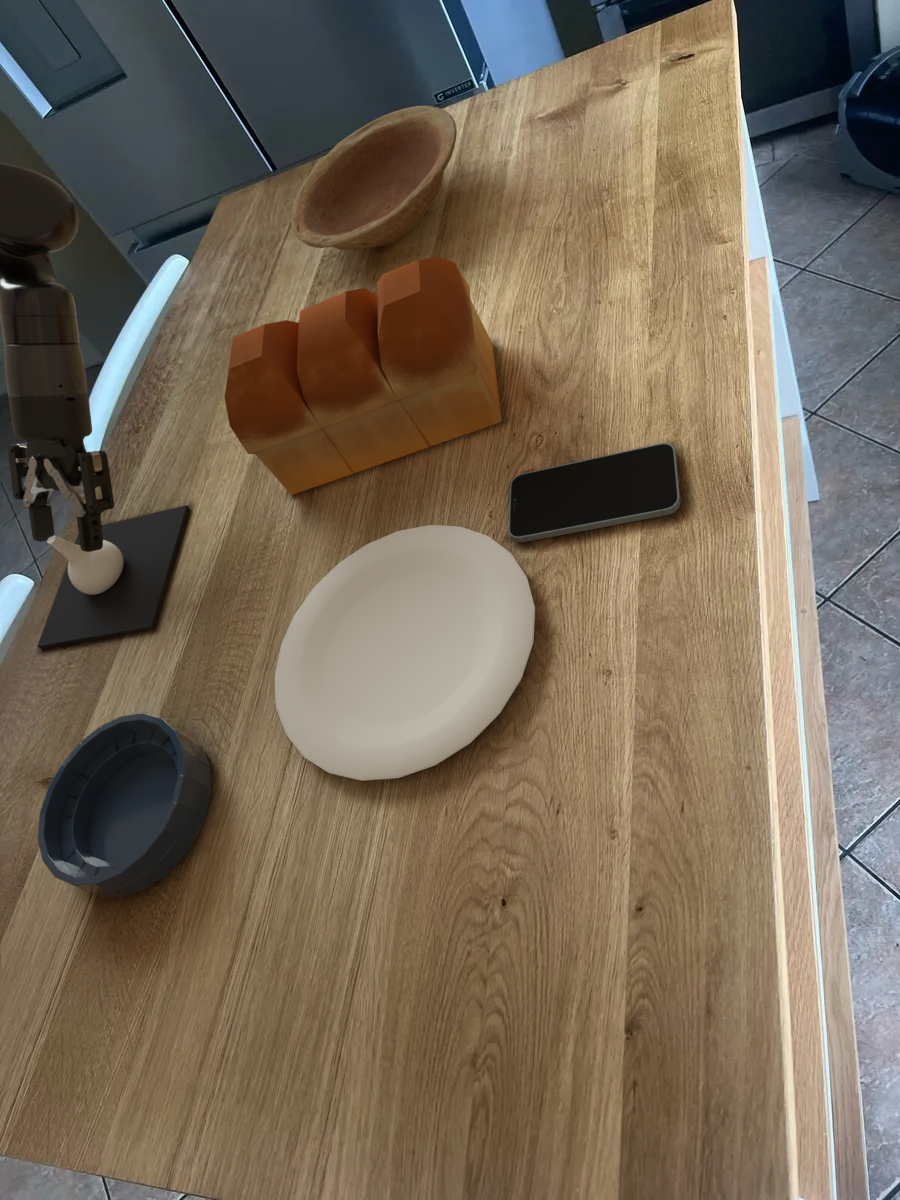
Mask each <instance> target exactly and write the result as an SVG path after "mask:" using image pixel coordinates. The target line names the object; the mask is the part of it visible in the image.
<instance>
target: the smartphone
mask: <svg viewBox="0 0 900 1200" xmlns="http://www.w3.org/2000/svg"><path fill="white" fill-rule="evenodd" d="M675 450H676V449H675V447H674V446H673V445H672V444H670V443H667V442H662V443H657V444H656V443H655V444H651V445H647V446H642V447H639V448H633V449H629V450H623V451H619V452H615V453H610V454H606V455H601V456H597V457H592V458H587V459H583V460H578V461H573V462H569V463H565V464H560V465H555V466H550V467H546V468H541V469H537V470H533V471H528V472H523V473H519V474H517V475H516V476H515V477H513V478H512V479H511V481H510V484H509V504H508V505H509V508H508V511H509V512H508V534H509V535H510V537H511V539H512V540H513V541H514V542H516V543H526V542H533V541H537V540H543V539H548V538H553V537H559V536H564V535H569V534H575V533H581V532H585V531H589V530H595V529H596V530H597V529H600V528H607V527H611V526H616V525H621V524H622V525H623V524H627V523H632V522H638V521H644V520H649V519H654V518H660V517H666V516H670V515H672V514H674V513H676V512H677V511H678V510H679V508H680V506H681V492H680V491H681V490H680V481H679V471H678V469H679V468H678V459H677V454H676V451H675Z"/></svg>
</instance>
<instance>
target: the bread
mask: <svg viewBox="0 0 900 1200" xmlns="http://www.w3.org/2000/svg"><path fill="white" fill-rule="evenodd" d="M376 286H377V293H376V292H373V291H371V290H369V289H367V288H365V287H361V288H356V289H352V290H348V291H344V292H342V293H339V294H337V295H335V296H332V297H330V298H326V299H325V300H323V301H320V302H318V303H315V304H313V305H311V306H308V307H306V308H303V309H301V310H299V320H298V322H297V321H293V320H289V319H288V320H287V319H285V320H280V321H275V322H269V323H265V324H261V325H259V326H256V327H254V328H252V329H250V330H247V331H245V332H243V333H241V334H238V335H235V336H233V337H232V341H231V347H230V353H229V362H228V368H227V369H228V370H227V376H226V378H227V379H226V384H225V392H224V402H225V409H226V413H227V418H228V425H229V427H230V428H231V430H232V431H233V434H234V435H235V436H236V438H237V439H238V441H239V443H240V444H241V446H242V447H243V448H244V450H245V452H246V453H247V455H255V456H256V457H257V458H258V459H259V460H260V462H261V463H262V464H263V465H264V466H265V467H266V468H267V469H268V471H269V472H270V473H271V474H272V475H273V476H274V478H276V480H277V481H278V482H279V483H280V484H281V485H282V486H283V488H284V489H285V490H286V491H287V492H288V494H290V495H291V496H293V495H296V494H300V493H302V492H305V491H307V490H311V489H313V488H317V487H319V486H322V485H325V484H328V483H330V482H333V481H336V480H339V479H342V478H345V477H348V476H350V475H353V474H357V473H359V472H362V471H365V470H368V469H370V468H373V467H376V466H379V465H382V464H384V463H385V464H386V463H388V462H391V461H393V460H397V459H399V458H402V457H405V456H407V455H410V454H413V453H416V452H419V451H422V450H425V449H428V448H431V447H434V446H436V445H439V444H442V443H444V442H448V441H451V440H454V439H456V438H457V439H458V438H459V437H462V436H466V435H468V434H470V433H473V432H477V431H479V430H482V429H485V428H488V427H491V426H493V425H496V424H499V423H502V421H503V419H502V411H501V404H500V403H501V402H500V395H499V387H498V379H497V369H496V362H495V355H494V346H493V342H492V340H491V337H490V336H489V333H488V331H487V330H486V328H485V326H484V324H483V322H482V320H481V317H480V316H479V314H478V312H477V309H476V307H475V305H474V303H473V301H472V300H471V292H470V284H469V283H468V281H467V280H466V278H465V277H464V275H463V274H462V272H461V271H460V268H459V267H458V266H457V264H456V262H455V261H451V260H449V259H446V258H443V257H441V256H434V257H427V258H421V259H417V260H414V261H412V262H410V263H407V264H405V265H402V266H400V267H397V268H395V269H393V270H391V271H389V272H386V273H384V274H382V275H381V277H380V278H379V279H378V281H377V285H376Z"/></svg>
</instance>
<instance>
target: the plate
mask: <svg viewBox="0 0 900 1200" xmlns="http://www.w3.org/2000/svg"><path fill="white" fill-rule="evenodd" d="M536 610H537V609H536V606H535V601H534V597H533V593H532V590H531V587H530V581H529V579H528V577H527V575H526V574H525V572H524V571H523V569H522V568H521V566H520V565H519V563H518V561H517V560H516V559H515V557H514V556H513V554H512V553H511V552H510V551H509V550H508V549H506V548H505V547H504V546H502V545H501V544H500V543H498V542H497V541H496V540H494V539H493V538H492V537H490V536H489V535H486V534H484V533H480V532H478V531H475V530H472V529H469V528H466V527H463V526H460V525H459V526H458V525H457V526H456V525H440V524H439V525H437V524H428V525H423V526H417V527H412V528H411V527H410V528H407V529H401V530H397V531H395V532H393V533H390V534H388V535H385V536H383V537H380V538H377V539H375V540H373V541H371V542H369V543H367V544H365V545H363V546H362V547H360V548H359V549H357V550H356V551H355V552H353V553H352V554H350V555H349V556H347V557H345V558H344V559H342V560H341V561H339V563H337V564H336V565H335V566H334V567H333V568H332V569H331V570H330V571H328V573H327V574H326V575H325V576H323V578H321V580H320V581H318V583H316V584H315V585H314V587H313V588H312V590H311V591H310V592H309V593H308V595H307V597H306V598H305V599H304V600H303V602H302V603H301V605H300V606H299V607H298V609H297V611H295V613H294V616H293V618H292V620H291V622H290V624H289V626H288V628H287V630H286V633H285V635H284V637H283V639H282V642H281V644H280V648H279V653H278V657H277V663H276V667H275V672H274V690H275V691H274V694H275V707H276V711H277V714H278V716H279V719H280V722H281V725H282V728H283V731H284V734H285V736H286V737H287V738H288V739H289V741H290V742H291V743H292V744H293V746H294V747H295V748H296V749H297V750H298V752H299V753H300V754H301V756H302V758H305V760H307V761H309V762H311V763H312V764H314V765H316V766H317V767H319V768H320V769H322V770H323V771H325V772H327V773H329V774H330V775H333V776H338V777H342V778H347V779H351V780H356V781H360V782H372V781H373V782H374V781H389V780H399V779H403V778H405V777H408V776H411V775H414V774H418V773H420V772H423V771H425V770H429V769H431V768H435V767H437V766H439V765H440V764H442V763H444V762H446V761H447V760H448V759H450V758H451V757H453V756H454V755H456V754H457V753H459V752H461V751H462V750H464V749H466V748H468V747H469V746H470V745H472V744H473V743H474V742H475V741H476V740H477V739H478V738H479V737H480V736H481V735H482V734H483V733H484V732H485V731H486V730H487V729H488V728H489V727H490V726H491V725H492V724H493V723H494V722H495V721H496V720H497V719H498V717H499V716H501V714H502V713H503V711H504V709H505V708H506V706H507V705H508V703H509V702H510V700H511V699H512V697H513V695H514V693H515V692H516V690H517V689H518V687H519V685H520V684H521V682H522V681H523V678H524V675H525V672H526V669H527V666H528V663H529V661H530V656H531V654H532V651H533V648H534V645H535V632H536V631H535V629H536Z"/></svg>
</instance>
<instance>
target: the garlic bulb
mask: <svg viewBox="0 0 900 1200" xmlns="http://www.w3.org/2000/svg"><path fill="white" fill-rule="evenodd" d="M46 542H47V545H50V546H51V547H53V548H54V549H55V550H56V551H57V552H58V553H60V554H61V555H62V556H63V557H64V558H65V559H66V560H67V561H69V563H68V562H67V564H68V575H69V578H70V581H71V582H72V584H73V585H74V586H75V587H76V588H77V589H78V590H79V591H81V592H83V593H86V594H90V595H95V594H100V593H102V592H104V591H106V590H108V589H109V588H110V587H111V586H112V585H113V584H114V583H115V582H116V581H117V580H118V578H119V576H120V574H121V572H122V569H123V556H122V553H121V551H120V550H119V549H118V548H117V547H116V546H115V545H114V544H112V543H111V542H108V541H106V540H103V547H102V548H101V549H100V550H96V551H91V552H85V551H82V550H81V548H80V545H76V544H75V542H74V543H73V542H71V541H68V540H66V539H64V538H61V537H58V536H56V534H55V535H54V536H52V537H49V539H48V540H47V541H46Z"/></svg>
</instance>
